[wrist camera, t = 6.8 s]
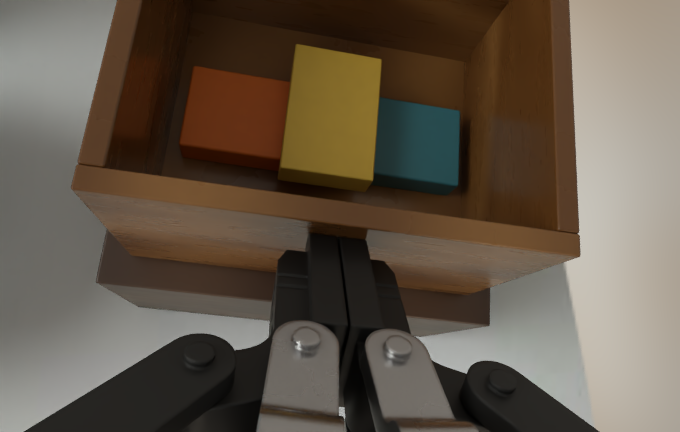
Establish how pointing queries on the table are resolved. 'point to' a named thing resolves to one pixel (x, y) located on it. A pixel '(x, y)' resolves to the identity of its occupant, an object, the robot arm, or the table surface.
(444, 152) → the teal packet
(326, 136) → the yellow rectangular block
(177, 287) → the stand
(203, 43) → the wooden box
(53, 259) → the table surface
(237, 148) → the orange packet
